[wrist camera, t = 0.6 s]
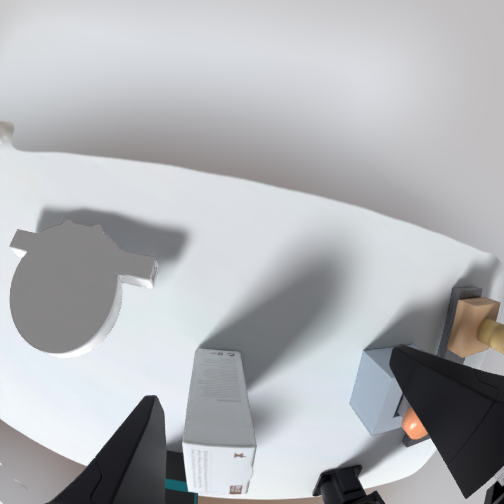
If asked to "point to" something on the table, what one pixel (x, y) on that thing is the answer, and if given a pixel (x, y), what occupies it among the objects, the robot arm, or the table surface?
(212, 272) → the table surface
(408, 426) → the button
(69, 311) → the grey elongated part
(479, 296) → the rail
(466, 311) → the carriage
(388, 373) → the cabinet
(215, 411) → the skincare box
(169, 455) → the surveillance camera
